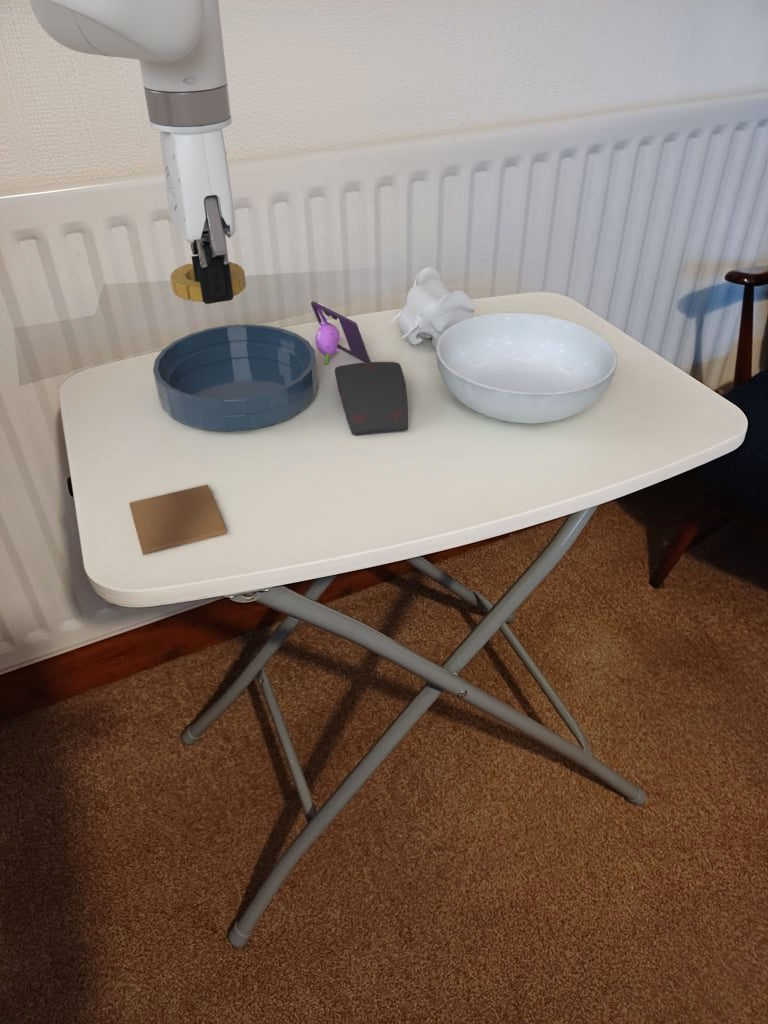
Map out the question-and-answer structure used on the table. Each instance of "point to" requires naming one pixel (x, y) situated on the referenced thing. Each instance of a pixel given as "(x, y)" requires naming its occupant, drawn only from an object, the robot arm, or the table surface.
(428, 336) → the elephant figurine
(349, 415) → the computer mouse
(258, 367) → the bowl
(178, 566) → the table surface
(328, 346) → the purple piece
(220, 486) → the table surface
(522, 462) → the table surface
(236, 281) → the ring
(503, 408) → the serving bowl
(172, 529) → the coaster
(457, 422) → the table surface
